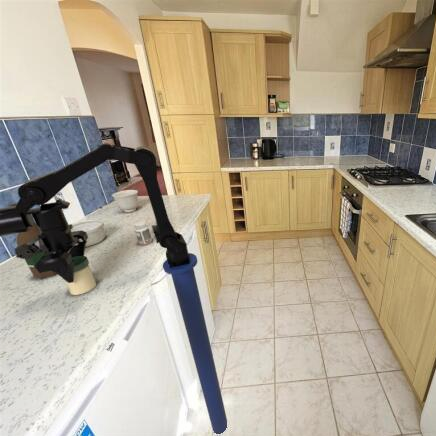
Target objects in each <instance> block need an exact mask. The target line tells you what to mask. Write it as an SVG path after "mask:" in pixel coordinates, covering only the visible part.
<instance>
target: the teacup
mask: <svg viewBox="0 0 436 436" xmlns="http://www.w3.org/2000/svg"><path fill="white" fill-rule="evenodd" d="M138 193H139V191H138V190H136V189H126V190H120V191H117V192H114V193H112V194H111V197H113V199H114V200H115V202H116V204H117V206H118V208H119V209H120V210H123V212H124V213H132V212H134V211H136V210H137V207H138V206H139V199H138V198H139V197H138Z"/></svg>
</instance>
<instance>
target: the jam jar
mask: <svg viewBox="0 0 436 436" xmlns="http://www.w3.org/2000/svg"><path fill="white" fill-rule="evenodd" d="M63 281H64V283H65V285H66V287H67V290H68V291H69V293H70V294H71V295H73V296H74V295H75V296H77V295H82V294H85V293H87V292H90V291H92V290H93V289H94V288H95V287H96V286H97V282H96V279H95V276H94V273H93V271H92V269H91V268H90V265H89V264H88V266H86V267H85V268H83V269H82V270H79V271H77V272H74V281H73V282H72V283H68V282H67V281H65V280H64V279H63Z"/></svg>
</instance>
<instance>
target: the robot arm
mask: <svg viewBox="0 0 436 436" xmlns="http://www.w3.org/2000/svg"><path fill="white" fill-rule="evenodd" d="M108 160H112V161H116V162H117V161H118V162H122V163H125V164H131V165H134V166H135V168H136V170H137V171H138V173H139V175H140V177H141V179H142V181H143V183H144V187H145V190H146V194H147V196H148V200H149V203H150V205H151V208H152V212H153V215H154V218H155V224H154V225H151V228H152V232H153V234H154V239H155V242H156V244H159V246H160V247H161V248H164V249H166V251H165V257H166V260H167V261H168V264H170V268H173V267H178V266H182V265H187V264H190V255H189V254H188V253H189V250H188V244H187V242H186V240H185V238H184V236H183V234H181V233H180V232H177V231H176V230H175V229H174V227H173V226H174V225H172V223H171V221H170V219H169V215H168V212H167V208H166V205H165V202H164V201H165V200H164V198H163V194H162V191H161V187H160V184H159V181H158V166H157V158H156V155H155V153H154V152H152V150H151V149H149V148H148V147H145V146H137V147H135V148H134V147H129V146H123V145H117V144H112V143H110V142H103V143H100V144H99V145H98V147H96V148H94V149H91V150H90V151H88V152H87V153H85V154H84V155H82V156H80V157H78V158H76V159H74V160H73V161H71V162H69V163H67V164H66V165H64V166H62V167H60V168H58V169H57V170H53V171H50V172H48V173H44V174H42V175H39V176H37V177H33V178H31V179H29V180H27V181H26V182H24V183H22V184H21V185H20V186H19V187H18V189H17V194H18V197H19V199H18V201H17V203H15V204H16V205H15V206H14V207H9V206H8V207H7V206H6V207H0V238H1V237H6V236H11V235H16V234H17V235H18V233H22V232H27V231H30V229H31V227H32V226H34V221H35V223H36V224H37V226H38V228H39V231H40V234H38V235H37V238H35V239H33V240H31V241H29V242H27V243H25V244H22V245H21V246H18V245H17V246H16V247H15V248H14V249H13V250H14V254H15V257H16V258H18V259H21V260H25V259H26V260H28V259H30V258H31V257H32V256H34V255H36V254H38V253H41V252H43V254H45V253H50V252H54V253H55V254H49V255H44V256H42V257H41V259H40V260H39V261H38V262H37V263H36V264H35V266H34V267H35V269H36V271H37V273H42V272H47V271H53V272H55V273H56V275H57V276H59V277H60V278H61V279H63V281H64V280H65V281H67V282H68V283H72V282H73V281H74V263H75V260H72V257H76V256H85V253H86V243H87V241H86V240H87V239H88V236H87V233H86V232H84V231H82V230H80V231H74V232H71V229H72V228H73V226H72V223H71V224H69V222H68V220H67V217H66V215H65V214H64V211H63V210H66V209H68V208H69V207H70V205H71V203H70V202H69V201H66V200H63V199H62V198H57V200H56V201H55V202H54V201H53V202H50V201H51V199H53V198H54V197H55V196H56V195H57V194H59V193H60V192H61V191H62V190H63V189H64V188H65V187H66V186H67V185H69V184H70V183H72V182H73V181H75V180H77V179H79V178H81V177H82V176H83V175H85V174H87V173H89V172H90V171H92V170H93V169H95V168H97V167H98V166H100V165H103V163H105V162H107V161H108ZM35 206H39V207H36V208H34V207H35ZM79 239H82V242H81V241H80V240H79ZM65 281H64V282H65Z"/></svg>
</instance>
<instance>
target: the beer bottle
mask: <svg viewBox="0 0 436 436" xmlns="http://www.w3.org/2000/svg"><path fill="white" fill-rule="evenodd" d="M16 204H17V203H13V204H10V205H9V206H8V207H14V206H15V205H16ZM38 234H40V231H39V228H38V226H37V224H36V222H35V220H34V226H32V227H31V229H30V231H27V232H22V233H17V236H16V245H17V247H18V246H21V245H22V244H25V243H27V242H29V241H31V240H33V239H35V238H37V235H38ZM49 254H55V253H54V252H50V253H45V254H43V252H41V253H38V254H36V255H34V256H32V257H31V258H30V259H28V260H26V259H24V261H25V264H27V267H28V268H29V270H30V272H31V273H32V276H33V277H34V278H36V279H47V278H49V277H53V276H56V275H57V274H56V273H55V272H53V271H47V272H42V273H37V271H36V269H35V267H34V266H35V264H36V263H37V262H38V261H39V260H40V259H41V257H42V256H44V255H49Z"/></svg>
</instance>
